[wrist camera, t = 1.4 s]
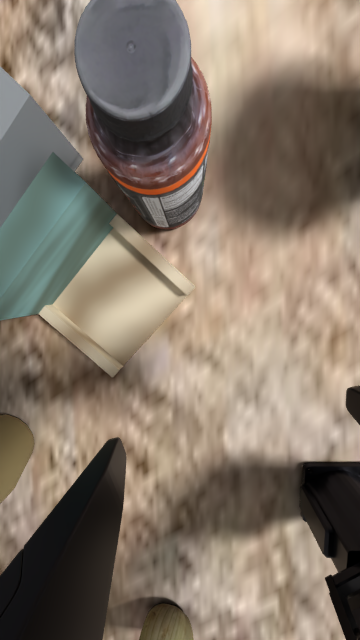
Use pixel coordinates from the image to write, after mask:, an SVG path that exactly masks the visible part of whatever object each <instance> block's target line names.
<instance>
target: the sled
mask: <svg viewBox="0 0 360 640" xmlns="http://www.w3.org/2000/svg"><path fill="white" fill-rule="evenodd" d="M194 288H195V286H194V285H193V284H192V283H191V282H190V281H189V280H188V279H187V278H186V277H185V276H183V275H182V274H181V273H180V272H179V271H178V270H177V269H176V268H175V267H174V266H173V265H172V264H171V263H169V262H168V261H167V260H166V259H165V258H164V257H163V256H162V255H161V254H160V253H159V252H158V251H157V250H155V249H154V248H153V247H152V246H151V245H150V244H149V243H148V242H147V241H146V240H145V239H144V238H143V237H141V236H140V235H139V234H138V233H137V232H136V231H135V230H134V229H133V228H132V227H131V226H130V225H129V224H127V223H126V222H125V221H124V220H123V219H122V218H121V217H120V216H119V215H118V214H117V213H116V212H115V211H114V210H113V209H112V208H111V207H110V206H109V205H108V204H107V203H106V202H105V201H104V200H103V199H102V198H101V197H100V196H99V195H98V194H97V193H96V192H95V191H94V190H93V189H92V188H91V187H90V186H89V185H88V184H87V183H86V182H85V181H84V180H83V179H82V178H81V177H79V176H78V175H77V174H76V173H75V172H74V171H73V170H72V169H71V168H70V167H69V166H68V165H67V164H65V163H64V162H63V161H62V160H61V159H60V158H59V157H58V156H57V155H56V154H55V153H54V152H52V154H51V155H50V157H49V158H48V159H47V161H46V162H45V164H44V165H43V167H42V168H41V170H40V171H39V172H38V174H37V175H36V177H35V178H34V180H33V181H32V183H31V184H30V185H29V187H28V188H27V190H26V191H25V193H24V194H23V196H22V197H21V199H20V200H19V201H18V203H17V204H16V206H15V207H14V209H13V210H12V212H11V213H10V214H9V216H8V217H7V219H6V220H5V222H4V223H3V225H2V226H1V227H0V320H5V319H11V318H17V317H23V316H29V315H35V314H39V315H40V316H41V317H43V318H44V319H45V320H46V321H47V322H48V323H50V324H51V325H52V326H53V327H54V328H55V329H57V330H58V331H59V332H60V333H61V334H62V335H63V336H65V337H66V338H67V339H68V340H69V341H70V342H72V343H73V344H74V345H75V346H76V347H77V348H79V349H80V350H81V351H82V352H83V353H84V354H86V355H87V356H88V357H89V358H90V359H91V360H93V361H94V362H95V363H96V364H97V365H98V366H99V367H101V368H102V369H103V370H104V371H105V372H106V373H108V374H109V375H110V376H111V377H112V378H113V377H114V376H115V375H116V374H117V373H118V371H119V370H120V369H121V368H122V367H123V366H124V365H125V364H126V362H127V361H128V360H129V359H130V358H131V357H132V356H133V355H134V354H135V353H136V351H137V350H138V349H139V348H140V347H141V346H142V345H143V344H144V343H145V342H146V341H147V339H148V338H149V337H150V336H151V335H152V334H153V333H154V332H155V331H156V330H157V328H158V327H159V326H160V325H161V324H162V323H163V322H164V321H165V320H166V319H167V318H168V316H169V315H170V314H171V313H172V312H173V311H174V310H175V309H176V308H177V307H178V305H179V304H180V303H181V302H182V301H183V300H184V299H185V298H186V297H187V296H188V295H189V294H190V293H191V291H192V290H193V289H194Z"/></svg>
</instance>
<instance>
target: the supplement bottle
mask: <svg viewBox="0 0 360 640" xmlns="http://www.w3.org/2000/svg"><path fill="white" fill-rule="evenodd" d="M75 62H76V68H77V72H78V75H79V78H80V81H81V83H82V86H83V88H84V90H85V92H86V94H87V102H86V124H87V128H88V134H89V137H90V139H91V142H92V145H93V147H94V149H95V151H96V153H97V155H98V157H99V158H100V160H101V162H102V163H103V165H104V166H105V167H106V169H107V170H108V172H109V173H110V175H111V177H112V178H113V179H114V180H115V182H116V183H117V184H118V186H119V187H120V189H121V190H122V191H123V192H124V194H125V195H126V197H127V198H128V199H129V201H130V202H131V204H132V205H133V206H134V208H135V209H136V211H137V212H138V213H139V214H140V216H141V217H142V218H143V219H144V220H145V221H146V222H148V223H149V224H150V225H152V226H154V227H157V228H160V229H174V228H178V227H180V226H182V225H184V224H186V223H187V222H188V221H189V220H190V219H191V218H192V217H193V216H194V215H195V213H196V212H197V210H198V208H199V205H200V202H201V199H202V195H203V187H204V180H205V172H206V165H207V157H208V149H209V142H210V132H211V118H212V116H211V101H210V95H209V91H208V87H207V84H206V81H205V79H204V76H203V74H202V72H201V70H200V69H199V67H198V65H197V64H196V62H195V61H194V60H193V59H192V57H191V40H190V35H189V29H188V25H187V21H186V20H185V17H184V15H183V12H182V10H181V9H180V7H179V5H178V4H177V2H176V0H91V1H90V2H89V3H88V5H87V6H86V7H85V10H84V12H83V13H82V15H81V17H80V20H79V23H78V27H77V31H76V36H75Z"/></svg>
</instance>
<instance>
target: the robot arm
mask: <svg viewBox="0 0 360 640" xmlns="http://www.w3.org/2000/svg"><path fill="white" fill-rule="evenodd" d="M346 408H347V410H348V411H349V413H350V414H351V415H352V416H353V418H354V419H355V420H356V421H357V422H358V424H359V425H360V386H354V387H350V388H348V389H347V391H346ZM308 469H309V470H308ZM125 473H126V452H125V449H124V447H123V444H122V441H121V439H120V438H119V437H117V438H112V439H109V440H108V441H107V442H106V443H105V445H104V446H103V447H102V448H101V450H100V451H99V452H98V453H97V455H96V456H95V457H94V458H93V460H92V461H91V462H90V463H89V465H88V466H87V467H86V469H85V470H84V471H83V472H82V474H81V475H80V476H79V477H78V479H77V480H76V481H75V482H74V484H73V485H72V486H71V487H70V489H69V490H68V491H67V492H66V494H65V495H64V496H63V498H62V499H61V500H60V501H59V503H58V504H57V505H56V506H55V508H54V509H53V510H52V511H51V513H50V514H49V515H48V516H47V518H46V519H45V520H44V522H43V523H42V524H41V525H40V527H39V528H38V529H37V530H36V532H35V533H34V534H33V535H32V537H31V538H30V539H29V540H28V542H27V543H26V544H25V546H24V549H22V550H20V552H19V553H18V554H17V555H16V557H15V558H14V559H13V561H12V562H11V563H10V564H9V566H8V567H7V568H6V569H5V571H4V572H3V573H2V574H1V575H0V640H102V639H103V632H104V626H105V620H106V613H107V607H108V601H109V594H110V588H111V582H112V575H113V569H114V563H115V556H116V550H117V544H118V537H119V531H120V525H121V518H122V511H123V502H124V488H125ZM300 509H301V516H302V518H303V520H304V521H305V522H307V523H308V525H309V527H310V529H311V531H312V533H313V535H314V537H315V539H316V541H317V543H318V545H319V547H320V549H321V551H322V553H323V554H324V555H325V557H327V558H331V559H332V561H333V563H334V565H335V567H336V569H337V571H338V573H337V574H335V575H333V576H332V575H329V576H327V577H325V580H326V583H327V585H328V588H329V591H330V593H329V594H330V597H331V600H332V603H333V605H334V608H335V611H336V614H337V616H338V619H339V622H340V624H341V627H342V630H343V633H344V635H345V638H346V640H360V463H306V464H304V466H303V476H302V485H301V487H300Z"/></svg>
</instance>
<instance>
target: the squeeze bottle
mask: <svg viewBox="0 0 360 640" xmlns="http://www.w3.org/2000/svg"><path fill="white" fill-rule="evenodd" d="M33 447H34V439H33V434H32V433H31V431H30V429H29V428H28V426H27V425H26V424H25V423H23V422H22V421H21V420H20V419H18V418H16V417H13V416H10V415H0V503H1V502H2V501H3V500H4V499H5V498H6V497H7V496H8V495H9V494H10V493H11V491H12V490H13V489H14V488H15V486H16V484H17V482H18V480H19V478H20V476H21V474H22V472H23V470H24V468H25V466H26V464H27V462H28V460H29V458H30V456H31V454H32V451H33Z"/></svg>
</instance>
